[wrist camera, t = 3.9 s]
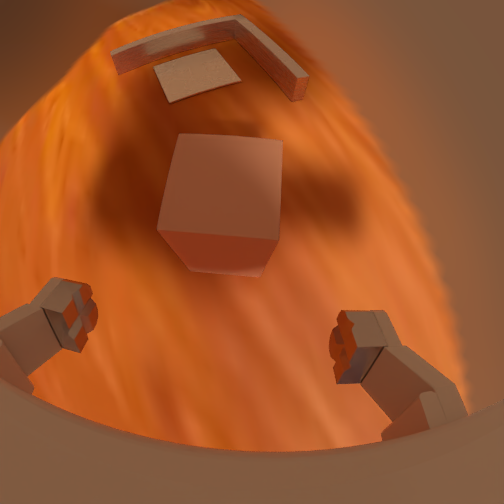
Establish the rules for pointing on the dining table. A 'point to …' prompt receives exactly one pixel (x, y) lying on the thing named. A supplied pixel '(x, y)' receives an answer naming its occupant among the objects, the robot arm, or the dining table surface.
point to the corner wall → (210, 58)
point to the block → (223, 203)
